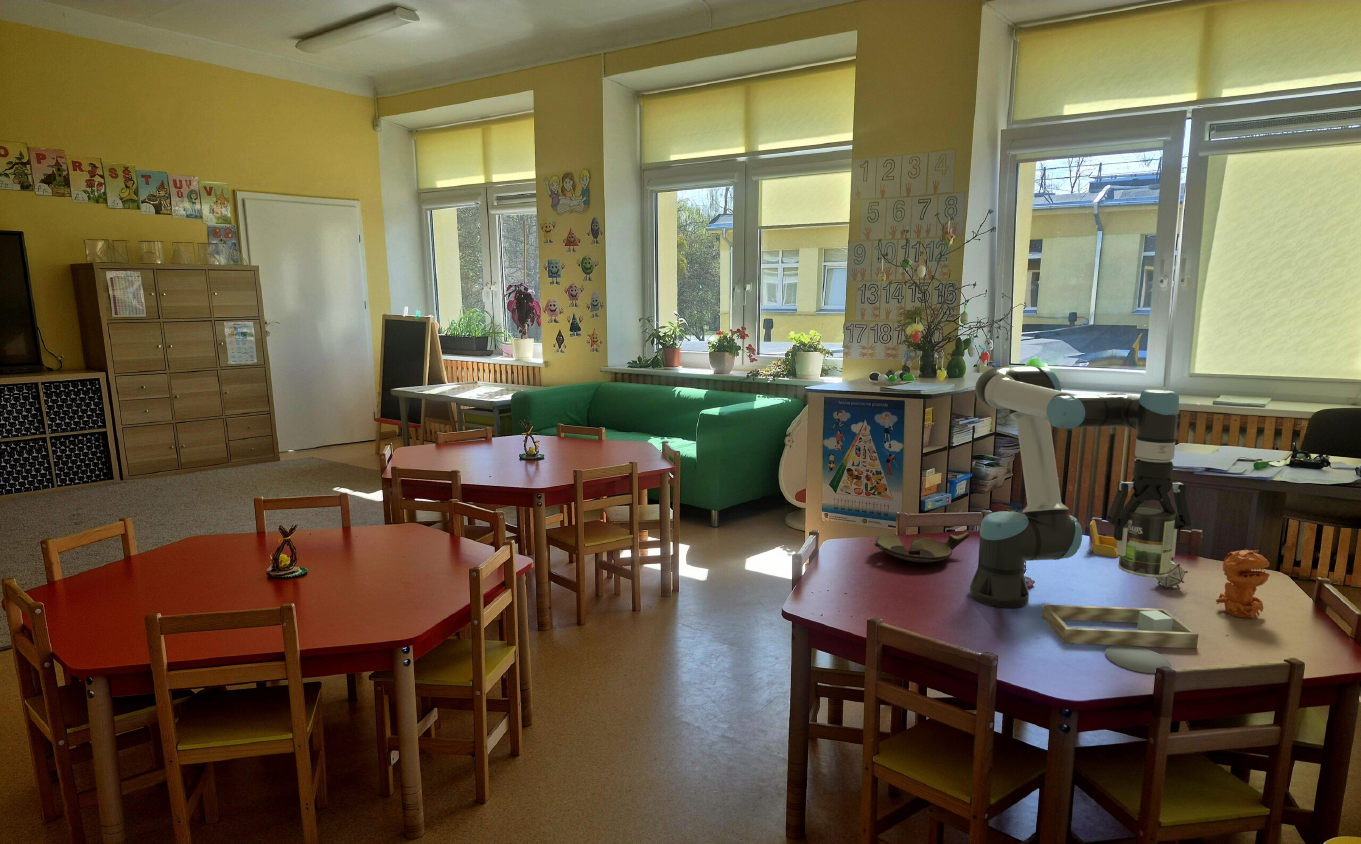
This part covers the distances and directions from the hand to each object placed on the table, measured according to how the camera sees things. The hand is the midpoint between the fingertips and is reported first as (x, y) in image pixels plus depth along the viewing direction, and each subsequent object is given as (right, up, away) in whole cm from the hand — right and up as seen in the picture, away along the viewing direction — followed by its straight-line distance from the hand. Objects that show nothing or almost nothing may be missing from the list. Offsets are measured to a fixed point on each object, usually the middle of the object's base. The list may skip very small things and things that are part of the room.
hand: (1145, 554), depth 177 cm
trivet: (-2, -24, 0) cm, 24 cm away
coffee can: (0, -4, +1) cm, 4 cm away
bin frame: (+1, -22, +14) cm, 26 cm away
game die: (+33, -17, +44) cm, 58 cm away
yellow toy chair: (+32, -12, +76) cm, 83 cm away
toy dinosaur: (+41, -20, +26) cm, 52 cm away
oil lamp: (-30, -13, +66) cm, 74 cm away
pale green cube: (+10, -22, +14) cm, 28 cm away
